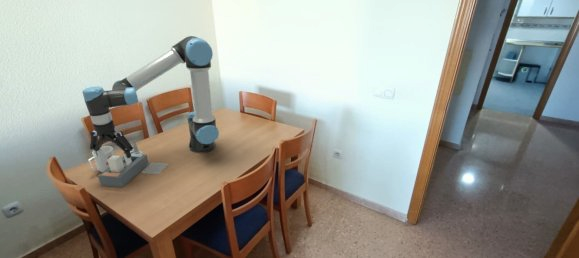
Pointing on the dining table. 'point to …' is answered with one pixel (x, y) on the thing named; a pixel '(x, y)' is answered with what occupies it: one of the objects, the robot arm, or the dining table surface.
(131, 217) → the dining table surface
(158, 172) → the mat
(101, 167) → the mug
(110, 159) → the plug
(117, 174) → the dock
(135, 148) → the electronic device
